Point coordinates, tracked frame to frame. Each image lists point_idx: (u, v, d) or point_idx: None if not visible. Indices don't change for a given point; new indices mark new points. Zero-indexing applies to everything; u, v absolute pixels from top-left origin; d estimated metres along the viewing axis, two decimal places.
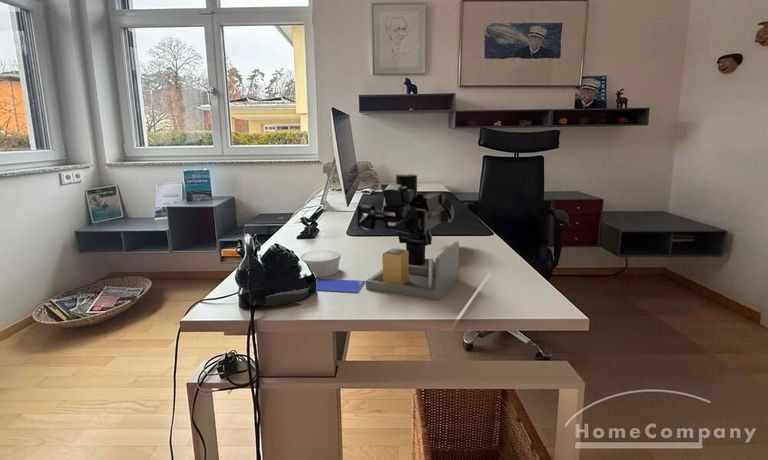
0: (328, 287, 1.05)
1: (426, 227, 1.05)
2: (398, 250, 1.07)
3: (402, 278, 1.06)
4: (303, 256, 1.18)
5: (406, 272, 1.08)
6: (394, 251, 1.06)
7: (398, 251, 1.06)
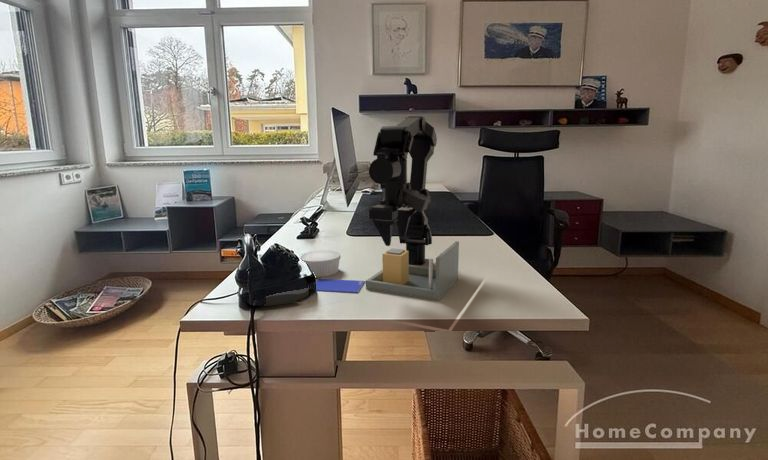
0: (328, 287, 1.05)
1: None
2: (398, 250, 1.07)
3: (402, 278, 1.06)
4: (303, 256, 1.18)
5: (406, 272, 1.08)
6: (394, 251, 1.06)
7: (398, 251, 1.06)
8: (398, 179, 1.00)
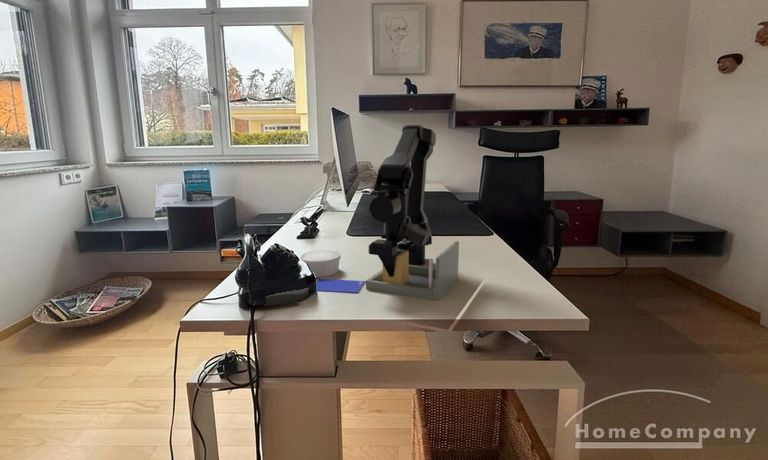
0: (328, 287, 1.05)
1: None
2: (398, 250, 1.07)
3: (402, 278, 1.06)
4: (303, 256, 1.18)
5: (406, 272, 1.08)
6: None
7: None
8: (398, 214, 1.02)
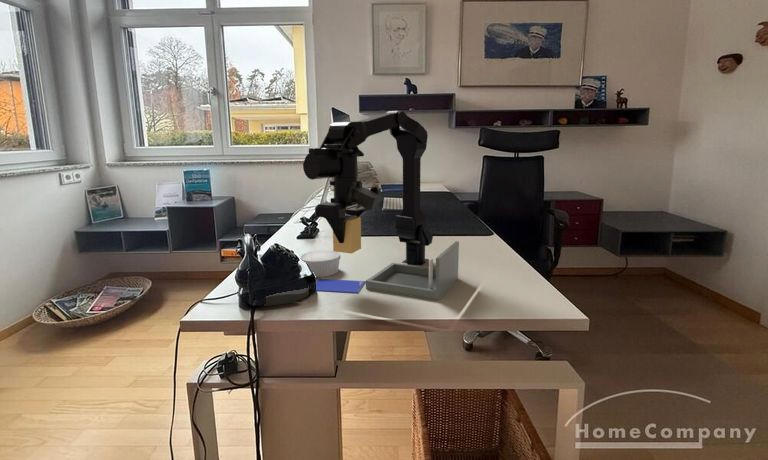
0: (328, 287, 1.05)
1: None
2: None
3: (353, 244, 1.02)
4: (303, 256, 1.18)
5: (358, 239, 1.04)
6: None
7: None
8: (342, 176, 0.98)
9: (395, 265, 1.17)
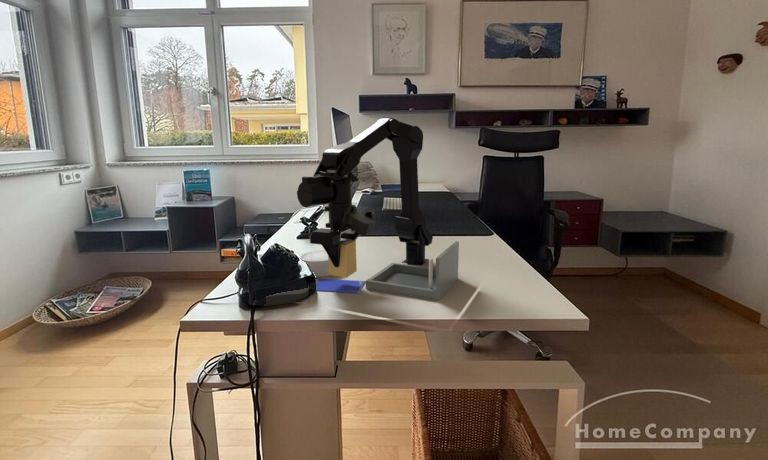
0: (328, 287, 1.05)
1: None
2: (344, 240, 1.04)
3: (348, 268, 1.03)
4: (303, 256, 1.18)
5: (354, 263, 1.05)
6: None
7: None
8: (336, 202, 0.99)
9: (395, 265, 1.17)
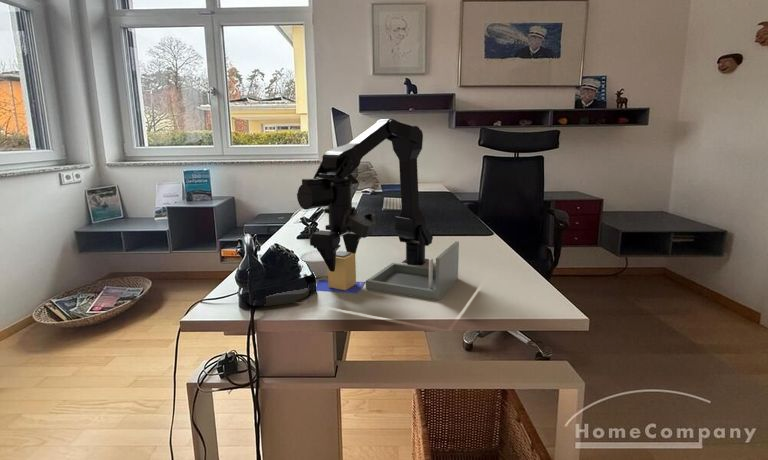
0: (328, 288, 1.05)
1: None
2: (344, 253, 1.05)
3: (348, 281, 1.04)
4: (303, 256, 1.18)
5: (353, 275, 1.06)
6: (339, 254, 1.04)
7: (343, 254, 1.04)
8: (336, 204, 0.99)
9: (395, 265, 1.17)
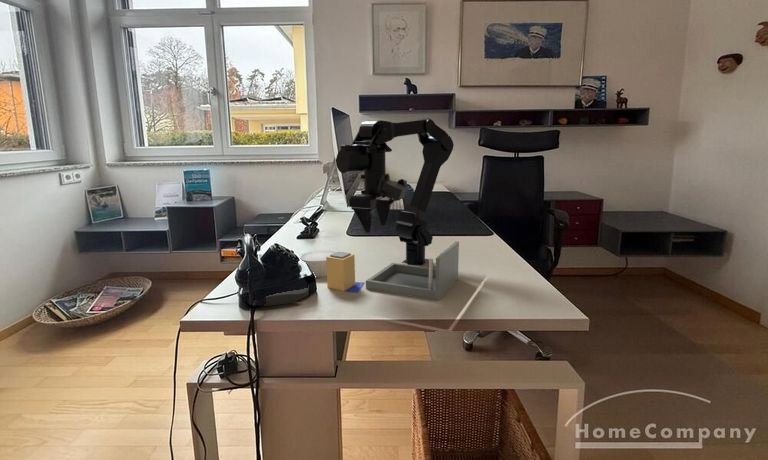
0: None
1: None
2: (343, 253, 1.05)
3: (346, 282, 1.04)
4: (303, 256, 1.18)
5: (352, 276, 1.06)
6: (338, 254, 1.04)
7: (342, 254, 1.04)
8: (371, 170, 1.08)
9: (395, 265, 1.17)
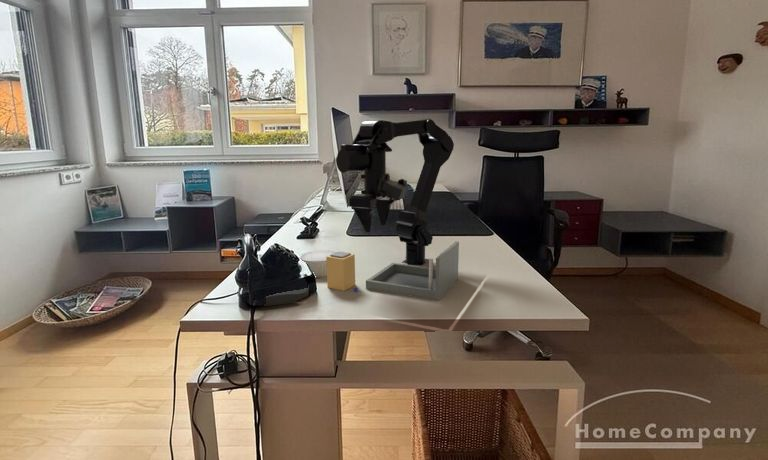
0: None
1: None
2: (343, 253, 1.05)
3: (346, 282, 1.04)
4: (303, 256, 1.18)
5: (352, 276, 1.06)
6: (338, 254, 1.04)
7: (342, 254, 1.04)
8: (371, 170, 1.08)
9: (395, 265, 1.17)
